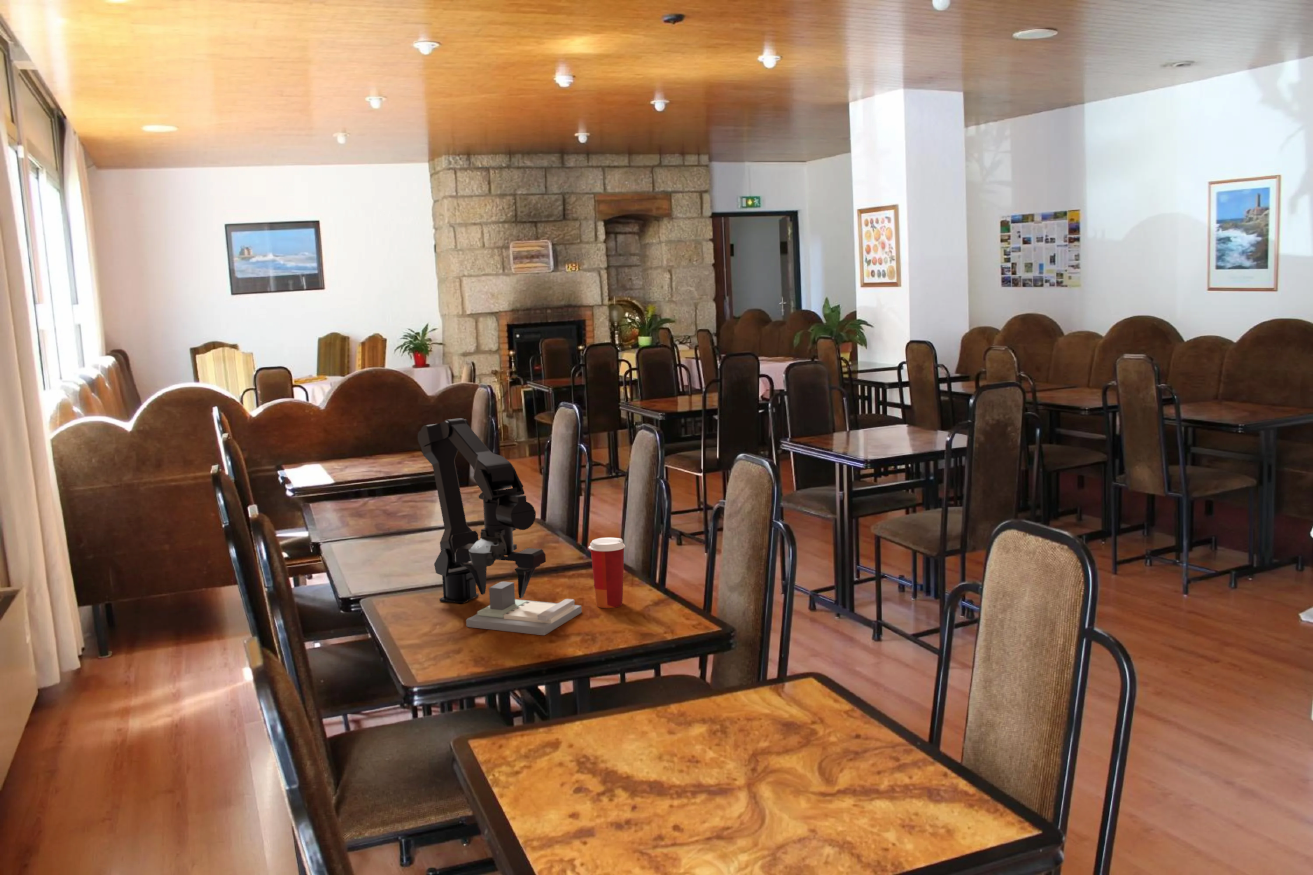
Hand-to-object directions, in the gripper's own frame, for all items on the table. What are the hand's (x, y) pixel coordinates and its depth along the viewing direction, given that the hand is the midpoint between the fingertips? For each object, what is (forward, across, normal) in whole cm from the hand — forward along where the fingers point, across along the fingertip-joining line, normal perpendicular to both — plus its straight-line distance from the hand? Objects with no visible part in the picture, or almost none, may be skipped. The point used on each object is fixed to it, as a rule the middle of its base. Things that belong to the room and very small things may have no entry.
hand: (502, 595), depth 230 cm
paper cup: (+5, +17, +15) cm, 23 cm away
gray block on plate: (+3, 0, 0) cm, 3 cm away
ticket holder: (+4, +5, 0) cm, 7 cm away
